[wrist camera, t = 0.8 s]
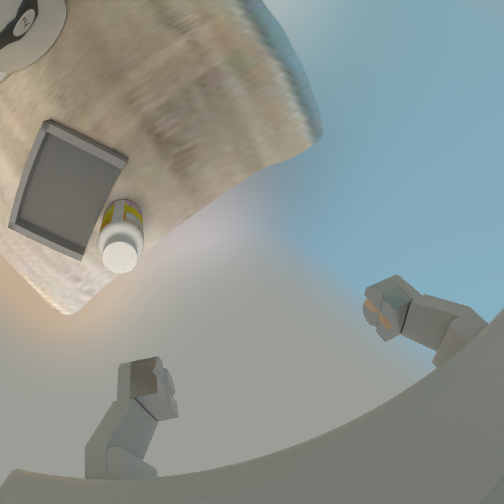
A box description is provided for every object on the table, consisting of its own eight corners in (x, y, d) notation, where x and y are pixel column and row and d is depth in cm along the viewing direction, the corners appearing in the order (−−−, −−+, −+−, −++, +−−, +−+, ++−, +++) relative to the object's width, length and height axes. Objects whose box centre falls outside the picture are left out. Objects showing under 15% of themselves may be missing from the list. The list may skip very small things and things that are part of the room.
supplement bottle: (105, 237, 42) (98, 282, 31) (102, 200, 38) (90, 236, 28) (143, 234, 44) (146, 278, 34) (142, 197, 41) (143, 232, 31)
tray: (14, 219, 32) (8, 227, 30) (50, 119, 28) (43, 120, 26) (83, 252, 41) (81, 261, 39) (127, 158, 37) (126, 162, 34)
